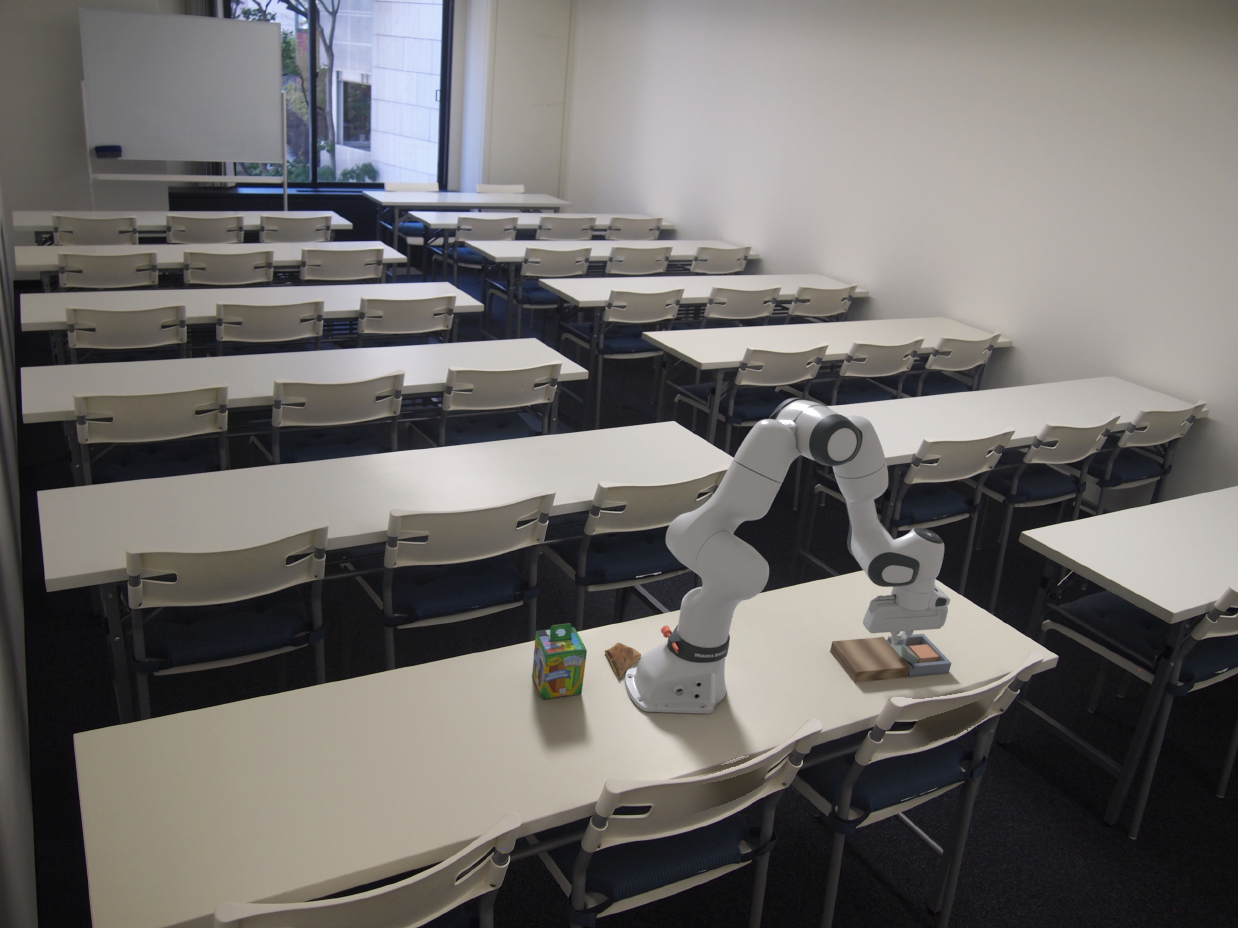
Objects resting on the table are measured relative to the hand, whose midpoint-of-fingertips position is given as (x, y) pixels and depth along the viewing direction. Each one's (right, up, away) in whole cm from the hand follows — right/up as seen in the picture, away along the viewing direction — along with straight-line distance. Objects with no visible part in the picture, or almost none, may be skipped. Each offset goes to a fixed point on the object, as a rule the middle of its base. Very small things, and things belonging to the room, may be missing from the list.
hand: (897, 643), depth 217 cm
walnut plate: (-7, -5, 0) cm, 8 cm away
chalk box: (-80, -5, -18) cm, 82 cm away
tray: (+5, -5, +4) cm, 8 cm away
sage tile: (+2, -3, +2) cm, 4 cm away
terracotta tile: (+8, -2, +4) cm, 9 cm away
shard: (-64, -3, -8) cm, 65 cm away
